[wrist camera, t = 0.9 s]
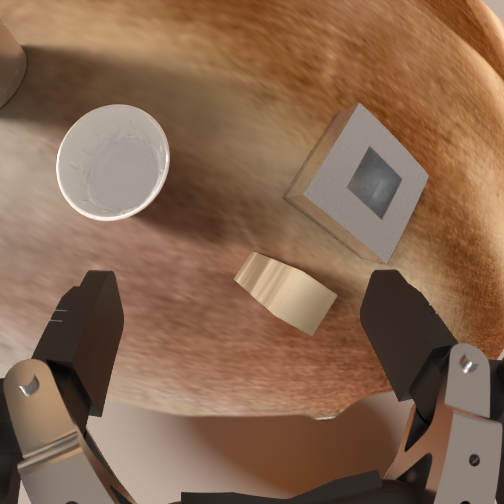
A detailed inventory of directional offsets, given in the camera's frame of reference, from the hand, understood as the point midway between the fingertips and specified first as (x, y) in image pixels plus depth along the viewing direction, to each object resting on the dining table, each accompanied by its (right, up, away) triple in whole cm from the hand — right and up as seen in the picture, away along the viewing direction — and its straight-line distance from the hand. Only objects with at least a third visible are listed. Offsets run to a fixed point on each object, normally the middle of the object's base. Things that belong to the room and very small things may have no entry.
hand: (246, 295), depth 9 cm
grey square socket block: (+11, +9, +25) cm, 29 cm away
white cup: (-12, +8, +19) cm, 23 cm away
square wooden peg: (+1, -1, +23) cm, 23 cm away
